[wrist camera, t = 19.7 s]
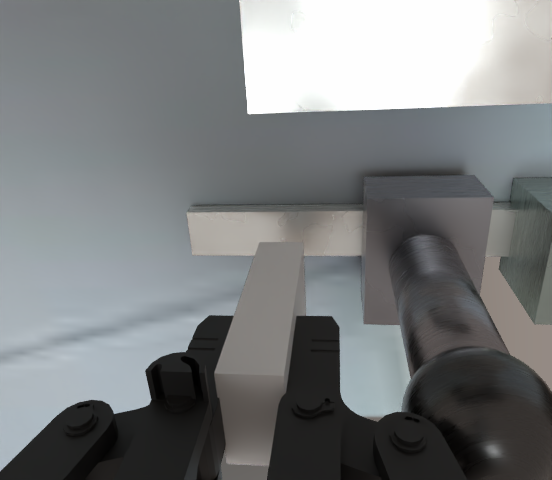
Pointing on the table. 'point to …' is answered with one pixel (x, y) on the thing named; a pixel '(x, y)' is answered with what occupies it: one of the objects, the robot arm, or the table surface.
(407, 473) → the robot arm
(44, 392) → the table surface
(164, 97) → the table surface
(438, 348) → the lever
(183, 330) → the table surface
